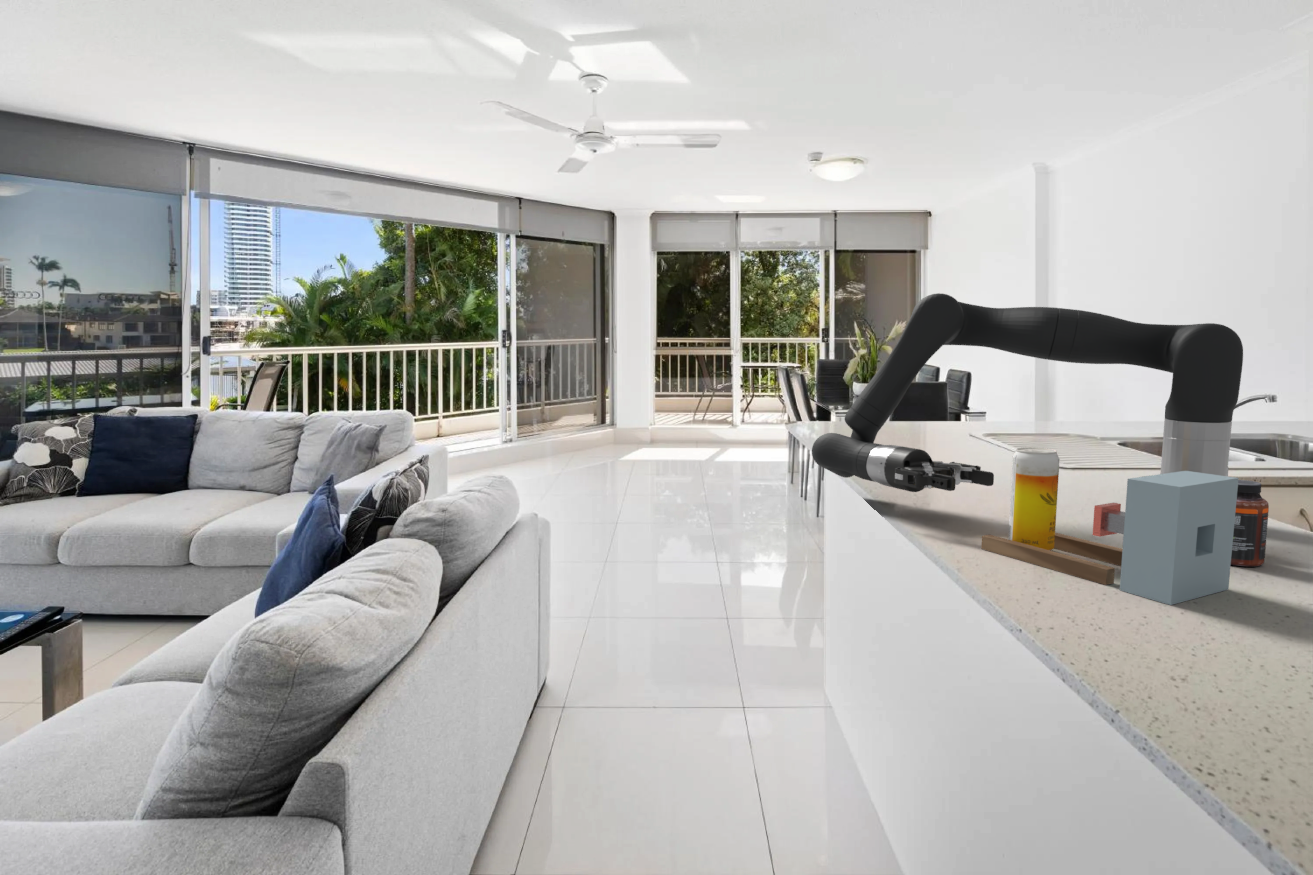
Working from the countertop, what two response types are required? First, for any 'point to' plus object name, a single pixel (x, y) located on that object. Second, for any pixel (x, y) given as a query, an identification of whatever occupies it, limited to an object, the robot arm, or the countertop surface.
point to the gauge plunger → (1108, 519)
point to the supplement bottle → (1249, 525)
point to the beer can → (1034, 497)
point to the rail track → (1062, 556)
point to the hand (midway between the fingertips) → (973, 481)
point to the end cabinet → (1178, 535)
